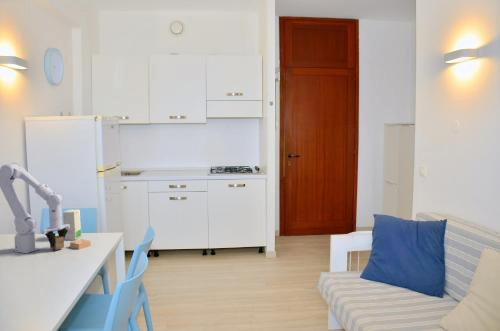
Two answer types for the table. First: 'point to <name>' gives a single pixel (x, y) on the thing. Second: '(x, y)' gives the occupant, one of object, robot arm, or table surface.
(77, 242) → the terracotta block
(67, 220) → the skincare box
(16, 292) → the table surface
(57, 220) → the robot arm
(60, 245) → the walnut block
